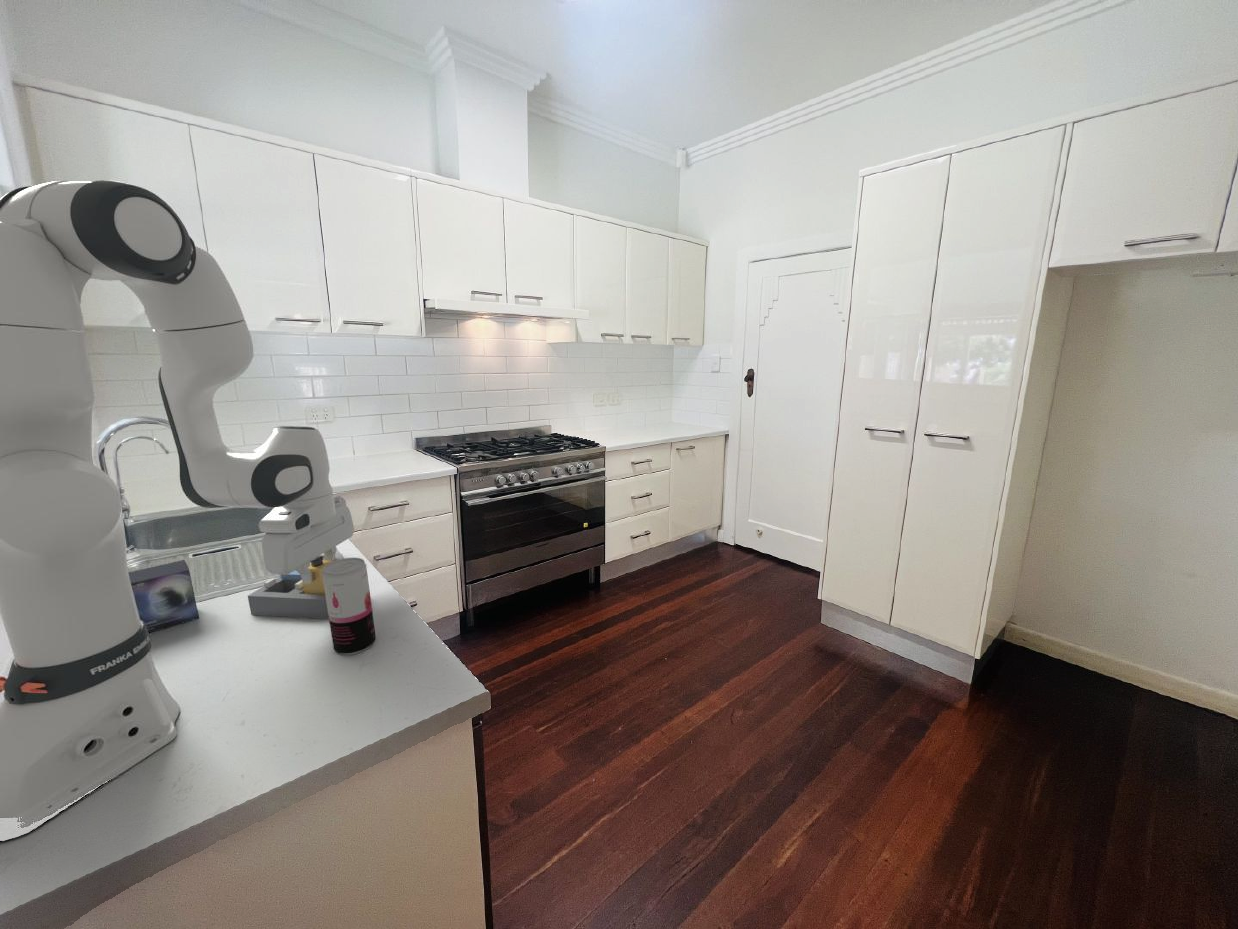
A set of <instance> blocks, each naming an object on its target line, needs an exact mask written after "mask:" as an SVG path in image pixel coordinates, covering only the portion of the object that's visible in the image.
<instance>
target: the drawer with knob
mask: <svg viewBox="0 0 1238 929" xmlns="http://www.w3.org/2000/svg"><path fill="white" fill-rule="evenodd" d="M323 559H324V558H323V557H322V556H319V557H316V558H315V559H313V560H311V561H310V566H309V567H308V569H309V570H310V571H311V572H315V577H316V579H315V580H314V581H313V582H311V583H309V584H308V583H303V586H304V592H305V594H318V595H325V590H324V584H323V577H322V572H323V567H324V566H325V565H327V564H329V563H331V562H333V561H330V560H323Z"/></svg>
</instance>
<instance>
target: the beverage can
mask: <svg viewBox="0 0 1238 929" xmlns="http://www.w3.org/2000/svg"><path fill="white" fill-rule="evenodd" d="M322 577H323V584H324V590H325V596H326V603H327V609H328V616H329V619H328V620H329V621H328V622H329V627H330V634H331V640H332V641H331V642H332V646H333V647H332V648H333V650H334V652H336V653H338V654H340V655H343V656H344V655H347V656H348V655H355V654H358V653H361V652H364V651H366V650H367V649H369V648H370V647H371V646H372V645H373V644H374V643H375V641H376V639H377V637H376V636H377V635H376V629H375V628H376V627H375V622H374V621H375V620H374V614H373V607H372V606H373V604H372V599H371V598H372V597H371V591H370V584H369V575H368V567H367V564H366V562H365V560H364V559H363V558H361V557H345V558H340V559H336V560H334V561H333V562H331V563H329V564H327V565H325V566H324V567H323V572H322Z"/></svg>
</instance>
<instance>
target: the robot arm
mask: <svg viewBox="0 0 1238 929" xmlns="http://www.w3.org/2000/svg"><path fill="white" fill-rule="evenodd" d="M91 279H93V280H100V281H108V282H109V281H110V282H112V281H120V283H122V284H124V285H125V286H126V287H127V288H128V289H129V290H131V292H132V293H133V294H134V295H135V296H136V297H137V298H138V300H139V301H140V302H141V304H142V306H143V309H144V312H145V314H146V318H147V320H148V322H149V325H150V328H151V329H152V331H153V334H154V337H155V340H156V341H157V346H158V350H159V353H160V354H159V355H160V360H161V365H160V367H159V370H158V375H157V376H158V377H157V378H158V379H157V380H158V387H159V391H160V395H161V400H162V403H163V407H164V410H165V415H166V416H167V420H168V423H169V427H170V431H171V434H172V436H173V440H174V444H175V447H176V450H177V455H178V460H179V461H178V463H179V464H178V465H179V481H180V487H181V489H182V492H183V493H184V495H185V496H186V498H187V499H189V501H191V503H193V504H194V505H196V506H199V507H201V508H207V509H216V508H219V509H220V508H246V509H254V508H255V509H272V510H271V511H270V512H269V513H267V514H266V516H264V517H263V518H262V519H261V520H260V521H259V522H258V528H259V531H260V532H261V533H264V535H263V536H262V541H261V549H262V557H263V562H264V563H263V564H264V566H265V570H266V571H267V572H268V573H269V574H271V575H279V576H281V575H287V574H289V573H291V572H298V573H299V574H300V575H301V577H302V582H303V583H308V584H309V583H311V582H313V581H314V580H315V579H316V577H315V572H311V571H310V570H309V569H308V567H309V566H310V562H311V560H313V559H315V558H316V557H318V556H319V557H321V556H322V555H323V558H322V559H323V560H330V561H335V557H336V553H337V546H339V545H340V544H342V543H343V542H346V541H348V539H351V538H352V537H353V535H354V533H355V526H354V523H353V522H354V520H353V517H352V513H351V511H350V508H349V507H348V506H347V501H346V499H344V498H343V497H341V496H339V495H337V496H334V490H333V487H332V484H331V482H330V480H329V477H330V476H329V475H330V463H329V456H328V451H327V447H326V444H325V441H324V438H323V436H322V433H321V432H320V430H319V429H316V428H315V427H311V426H293V425H291V426H290V425H280V426H276V427H273V428H272V429H271V431H270V433H271V434H270V436H269V437H268V438H267V440H266V441H265V442H264V443H263V444H262V445H260V446H258V448H255V449H254V450H252V451H238V450H237V451H235V450H232V449H230V448H229V447H228V446H227V445H225V443H224V442H223V440H222V436H221V432H220V428H219V425H218V420H217V416H216V413H215V412H216V411H215V408H214V396H215V393H216V392H217V391H218V390H219V389H220V388H221V387H223V386H225V385H226V384H229V383H231V382H233V381H234V380H236V379H238V378H239V377H241V375H242V374H244V373H245V372H246V370H247V369H248V368H249V367H250V365H251V363H252V360H253V358H254V346H253V345H254V344H253V339H252V336H251V333H250V330H249V327H248V324H247V322H246V319H245V317H244V314H243V311H242V308H241V306H240V304H239V302H238V299H237V297H236V295H235V292H234V290H233V288H232V287H231V284H230V282H229V280H228V278H227V277H226V275H225V273H224V271H223V270H222V268H221V267H220V265H219V264H218V262H217V260H216V259H215V258H214V256H213V255H212V254H210V253H209V252H208V251H206V250H204V249H202V248H201V247H198V246H196V244H195V242H194V240H193V238H192V237H191V236H190V234H189V232H188V230H187V228H186V226H185V224H184V223H183V222H182V219H181V218H180V216H178V214H177V213H176V212H175V211H174V210H173V208H172V207H171V206H170V205H169V204H168V203H167V202H166V201H165V200H163V199H162V198H161V197H160V196H158V195H157V194H156V193H154V192H152V191H150V190H148V189H146V188H144V187H141V186H139V185H135V184H131V183H127V182H122V181H117V180H109V179H108V180H107V179H104V180H103V179H101V180H94V181H77V180H57V181H51V182H45V183H41V184H38V185H29V186H28V185H27V186H23V187H21V186H20V187H18V188H15V189H12V190H11V191H9V192H7V193H6V194H5V195H2V197H1V198H0V617H1V621H2V623H3V627H4V630H5V632H6V635H7V639H8V641H9V645H10V649H11V651H12V654H13V658H14V659H13V660H12V662H11V664H10V668H9V671H8V674H7V678H6V677H5V676H0V693H1V692H3V691H4V693H3V697H4V698H3V699H2V701H1V702H0V818H14V817H15V818H18V820H17V822H21V823H22V822H24V823H25V824H24V823H22V824H23V825H22V824H20V825H21V826H20V827H21V828H24V827H28V826H30V825H31V824H33V822H34V823H35V822H37V821H40V820H42V819H43V818H45V817H47V816H50V815H52V814H53V813H55V812H56V811H58V809H61V808H63V807H64V806H66V805H68V804H69V803H72V802H74V800H77V799H78V798H79V797H82V796H84V795H85V794H86V793H88V792H89V791H91V790H93V789H95V788H96V787H98V786H99V785H102V784H103V783H105V782H106V781H108V780H110V779H112V780H113V779H115V778H117V777H118V776H119V774H120V773H121V774H123V773H124V772H126V771H127V770H128V769H130V768H132V767H133V766H135V765H137V764H138V763H140V762H141V761H143V760H144V759H145V758H146V759H147V757H149V756H150V755H152V754H153V753H154V752H157V751H158V750H159V749H161V748H162V747H164V746H165V745H167V744H169V743H170V742H172V741H173V740H174V739H175V738H176V737H177V736H178V735H177V734H178V732H177V729H176V726H175V722H176V720H177V718H178V716H179V713H180V706H179V703H178V702H177V701H176V700H175V699H174V697H173V696H172V695H171V694H170V693H169V691H168V689H167V688H166V685H165V684H164V682H163V681H162V679H161V676H160V674H159V673H158V670H157V669H156V666H155V662H154V661H153V659H152V656H151V649H152V642H151V638H150V635H149V633H148V630H147V627H146V624H145V622H144V621H142V620H140V617H139V613H138V610H137V606H136V602H135V598H134V594H133V590H132V586H131V582H130V577H129V573H128V572H129V568H128V558H127V557H128V556H127V541H126V532H125V522H124V516H123V510H122V501H121V496H120V491H119V489H118V487H117V485H116V483H115V481H114V480H113V479H112V478H111V477H110V475H109V474H107V473H106V472H105V471H104V470H102V469H101V468H99V467H98V466H96V465H95V463H94V460H93V447H92V440H93V439H92V436H93V435H92V429H93V428H92V426H93V425H92V422H93V409H94V408H93V407H94V402H95V394H94V393H95V392H94V387H93V380H92V379H93V378H92V372H91V363H90V357H89V351H88V343H87V342H88V341H87V335H86V329H85V322H84V317H83V313H82V308H81V303H82V302H81V300H82V293H83V290H84V288H85V286H86V284H87V283H88V281H89V280H91ZM320 555H321V556H320ZM121 774H120V775H121ZM117 775H118V776H117ZM110 781H111V780H110ZM19 817H20V821H19ZM21 817H22V818H21ZM18 826H19V825H18ZM18 828H19V827H18Z"/></svg>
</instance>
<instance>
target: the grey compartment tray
mask: <svg viewBox="0 0 1238 929" xmlns="http://www.w3.org/2000/svg"><path fill="white" fill-rule="evenodd" d="M263 585H264V586H262V587H259V588H258V589H257V590H255V591H253V592H252V593H250V594H248V595H247V600H248V605H249V610H250V615H251V614H254V616H269V615H274V616H273V617H286V616H288V618H289V617H290V618H303V619H304V618H306V619H307V618H309V619H324V620H326V619H327V620H329V616H328V609H327V603H326V596H325V595H318V594H305V592H304V586H303V582H302V577H301V575H300V574H299V573H298V572H297V571H293V572H291V573H289V574H287V575H279V576H278V577H277V578H275V577H274V578H272V577H271V578H270V579H268V580H266V581H264V582H263ZM256 614H257V615H256ZM258 614H259V615H258ZM276 615H277V616H276Z"/></svg>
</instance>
